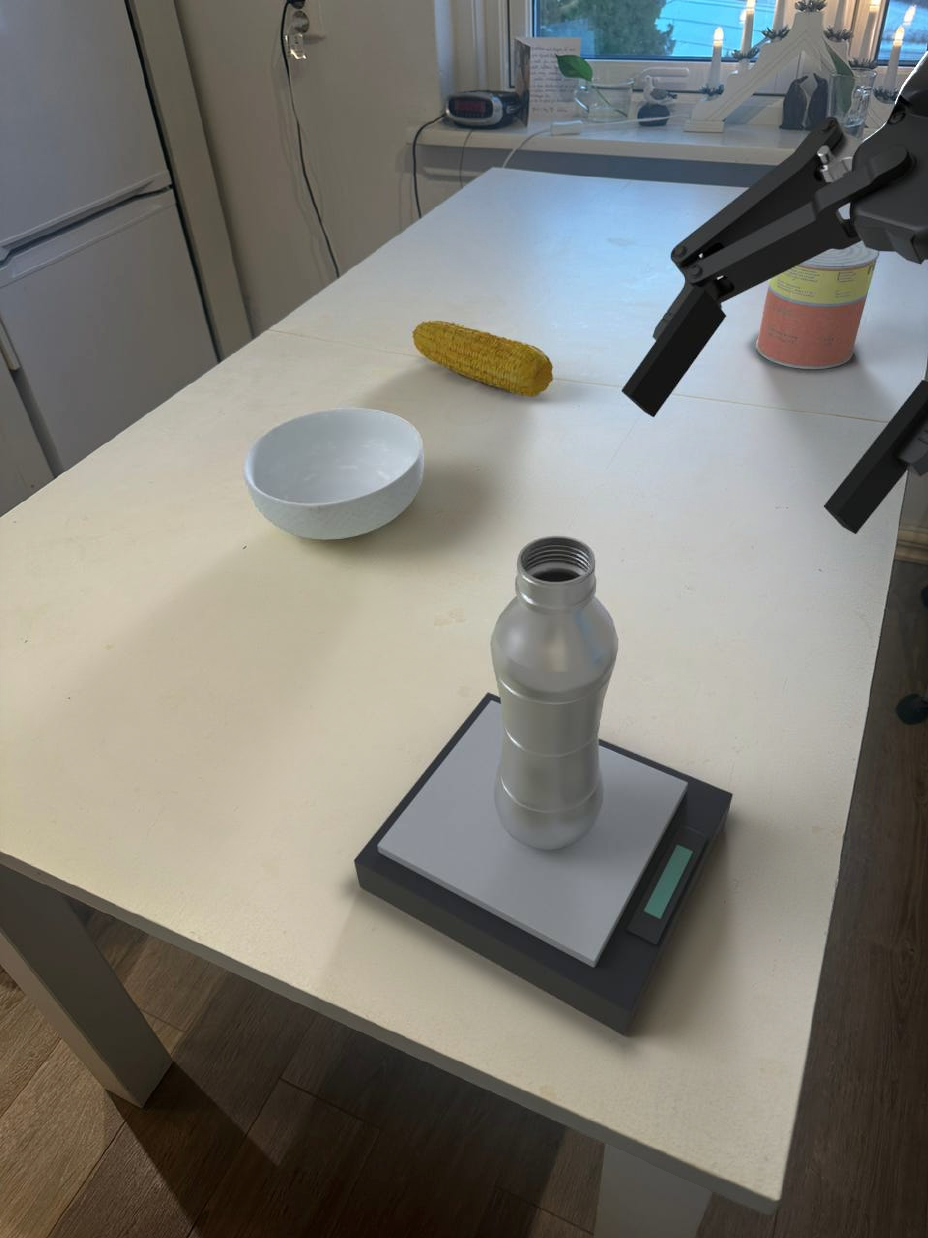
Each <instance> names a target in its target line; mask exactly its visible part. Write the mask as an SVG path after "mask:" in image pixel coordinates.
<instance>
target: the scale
mask: <svg viewBox="0 0 928 1238" xmlns="http://www.w3.org/2000/svg"><path fill="white" fill-rule="evenodd" d="M502 740H503V722H502V710H501V699H500V695H496V694H493V693H492V692H489V691H488V692H487V693H485V695H484V697H483V698H482V699H481V700H480V701H479V702H478V704H477V705H476V706H475V708H474V709H473V710H472V711H471V712H470V714H469V715H468V716H467V718H466V719H465V720H464V722H463V723H462V724H461V725H460V726H459V728H458V729H457V730H456V731H455V732H454V734H453V735H452V736H451V737H450V739H449V740H448V741H447V742H446V744H445V745H444V746H443V748H442V749H441V750H440V751H439V752H438V754H437V755H436V757H434V759H432V760H433V761H432V762H431V763H430V764H429V765H428V766H427V768H426V769H425V770H424V771H423V773H422V774H421V775H420V777H419V778H418V779H417V781H416V782H415V783H414V784H413V785H412V787H411V788H410V789H409V790H408V792H407V793H406V794H405V795H404V797H403V798H402V799H401V800H400V802H398V804H397V806H395V807H394V809H393V811H392V812H391V813H390V814H389V816H388V817H387V818H386V819H385V821H384V822H383V823H382V824H381V826H380V827H379V828H378V829H377V830H376V832H375V833H374V834H373V836H372V837H371V838H370V839H369V840H368V842H367V843H366V845H365V846H363V848H362V849H361V851H360V852H358V854H357V855H356V857H355V858H354V859H353V863H354V868H355V872H356V876H357V880H358V885H359V887H360V888H361V889H363V890H365V891H366V892H368V893H370V894H371V895H374V896H376V898H379V899H380V900H382V901H384V902H386V903H388V904H389V905H392V906H393V907H395V908H396V909H398V910H400V911H402V912H404V913H405V914H407V915H409V916H411V917H412V918H414V919H416V920H417V921H419V922H422V923H423V924H425V925H427V926H429V927H430V928H432V929H434V930H436V931H437V932H439V933H441V934H443V935H444V936H446V937H448V938H450V939H451V940H453V941H455V942H457V943H459V944H461V946H464V947H466V948H467V949H469V950H471V951H473V952H475V953H476V954H478V955H480V956H482V957H484V958H485V959H487V960H489V961H491V962H492V963H494V964H496V965H498V966H500V967H501V968H503V969H505V970H506V971H508V972H510V973H512V974H514V975H515V976H518V977H519V978H521V979H523V980H524V981H526V982H527V983H530V984H531V985H533V986H535V987H536V988H538V989H540V990H541V991H544V992H546V993H547V994H549V995H551V996H552V997H555V998H556V999H558V1000H559V1001H561V1002H564V1003H565V1004H567V1005H568V1006H570V1007H572V1008H574V1009H576V1010H578V1011H579V1012H581V1013H582V1014H584V1015H586V1016H588V1017H590V1018H591V1019H594V1020H595V1021H597V1022H599V1023H600V1024H602V1025H604V1026H606V1027H608V1028H610V1029H611V1030H612V1031H615V1032H617V1033H619V1034H620V1035H622V1036H624V1037H626V1036H627V1034H628V1032H629V1030H630V1027H631V1025H632V1024H633V1021H634V1020H635V1017H636V1015H637V1013H638V1010H639V1009H640V1006H641V1004H642V1002H643V1000H644V998H645V995H646V994H647V991H648V989H649V988H650V985H651V983H652V981H653V978H654V976H655V974H656V972H657V970H658V968H659V965H660V964H661V961H662V959H663V957H664V955H665V953H666V951H667V949H668V946H669V944H670V942H671V940H672V938H673V935H674V933H675V931H676V928H677V927H678V925H679V923H680V920H681V918H682V916H683V914H684V912H685V910H686V908H687V905H688V903H689V901H690V899H691V897H692V895H693V893H694V890H695V888H696V887H697V884H698V882H699V880H700V878H701V875H702V873H703V871H704V869H705V867H706V865H707V862H708V861H709V858H710V856H711V854H712V852H713V850H714V848H715V846H716V844H717V842H718V839H719V837H720V835H721V833H722V831H723V828H724V827H725V824H726V822H727V818H728V815H729V811H730V807H731V803H732V799H733V795H734V794H733V793H732V792H729V791H727V790H725V789H723V788H720V787H718V786H716V785H712V784H710V783H708V782H706V781H704V780H701V779H699V778H696V777H693V776H691V775H689V774H686V773H684V772H681V771H679V770H676V769H674V768H672V767H670V766H667V765H664V764H663V763H660V762H658V761H655V760H653V759H650V758H648V757H646V756H643V755H641V754H639V753H636V752H633V751H632V750H629V749H626V748H624V747H621V746H619V745H617V744H614V743H612V742H609V741H607V740H605V739H602V738H600V737H598V740H599V763H600V768H601V772H602V778H603V788H604V797H603V803H602V806H601V809H600V812H599V814H598V817H597V820H596V822H595V824H594V825H593V827H592V829H591V830H590V831H589V832H588V833H587V835H586V836H584V837H583V838H582V839H580V840H579V841H577V842H575V843H573V844H572V845H569V846H566V847H563V848H559V849H553V850H542V849H537V848H532V847H529V846H527V845H525V844H522V843H520V842H519V841H517V840H516V839H514V838H513V837H512V836H511V835H510V834H509V833H508V832H507V831H506V830H505V829H504V827H503V825H502V824H501V822H500V819H499V816H498V813H497V810H496V807H495V803H494V796H493V791H494V783H495V777H496V771H497V768H498V765H499V762H500V759H501V749H502Z"/></svg>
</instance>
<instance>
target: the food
mask: <svg viewBox="0 0 928 1238" xmlns="http://www.w3.org/2000/svg"><path fill="white" fill-rule="evenodd" d="M411 333H412V336H411V337H412V339H413V345H414V346H415V348H416V349H417V351H418V352H419V353H420V354H421V355H423V356H424V357H425V358H427V359H429V360H430V361H431V362H434V363H436V364H438V365H439V366H442V367H445V368H446V369H449V370H451V371H453V372H455V373H456V374H460V375H463V376H464V377H467V378H469V379H472V380H474V381H477V382H481V383H483V384H485V385H486V384H487V386H491V387H494V388H498V389H503V390H504V391H507V392H509V393H512V394H516V395H519V396H525V397H536V396H539V395H540V394H541V393H543V392H544V391H546V390H547V389H548V388H549V386H550V383H551V382H553V380H554V378H553V377H554V375H553V368H554V366H553V362H552V361H551V360H550V357H549V356H548V355H546V353H545V352H544V351H543V350H541V349H540V348H538V347H536V346H534V345H531V344H528V343H526V342H522V341H518V340H515V339H514V340H513V339H510V338H506V337H504V336H499V335H496V334H491V333H490V332H488V331H483V330H480V329H477V328H470V327H467V326H464V325H460V323H455V322H449V321H443V320H428V321H422V322H421V323H417V326H415V328H414V330H413V331H412V332H411Z"/></svg>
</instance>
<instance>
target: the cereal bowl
mask: <svg viewBox="0 0 928 1238" xmlns="http://www.w3.org/2000/svg"><path fill="white" fill-rule="evenodd" d="M424 470H425V452H424V445H423V439H422V437H421V434H420V433H419V431H418V430H417V429H416V427H415V426H414V425H413V424H412V423H411V422H409V421H408V420H406V419H405V418H403V417H401V416H399V415H396V414H394V413H390V412H387V411H383V410H378V409H372V408H364V407H363V408H362V407H338V408H329V409H324V410H323V409H322V410H317V411H313V412H308V413H305V414H302V415H299V416H296V417H292V418H290V419H287V420H285V421H283V422H281V423H279V424H277V425H275V426H273V427H272V428H270V429H268V430H267V431H266V432H264V433H263V434H262V435H261V436H259V437H258V438H257V439H256V440H255V441H254V442H253V443H252V444H251V446H250V447H249V448H248V450H247V451H246V454H245V457H244V459H243V464H242V472H243V473H242V474H243V478H244V482H245V485H246V487H247V491H248V493H249V496H250V498H251V501H253V503H254V506H255V507H256V508H257V510H258V512H259V513H260V514H261V515H262V516H263V517H264V518H265V519H266V520H267V521H268V522H269V523H271V524H272V525H274V526H275V527H277V528H278V529H280V530H282V531H283V532H285V533H289V534H291V535H294V536H297V537H300V538H305V539H312V540H323V541H326V540H340V539H342V540H343V539H347V538H353V537H358V536H361V535H365V534H367V533H371V532H373V531H375V530H377V529H379V528H382V527H383V526H386V525H387V524H388V523H390V522H392V521H393V520H394V519H396V518H397V517H398V516H399V515H401V514H402V513H403V512H404V511H406V509H408V507H409V505H411V503H412V502H413V500H414V499H415V498H416V495H417V494H418V492H419V490H420V488H421V486H422V485H421V484H422V482H423V476H424Z"/></svg>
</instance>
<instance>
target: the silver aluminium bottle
mask: <svg viewBox="0 0 928 1238" xmlns="http://www.w3.org/2000/svg"><path fill="white" fill-rule="evenodd" d="M514 590H515V596H514V597H513V598H512V599H511V601H510V602H509V603H508V604H507V605H506V607H504V609H503V610H502V612H501V613H500V614H499V616H498V617H497V620H496V622H495V625H494V628H493V631H492V633H491V636H490V643H489V644H490V653H491V662H492V668H493V672H494V676H495V681H496V685H497V686H496V687H497V690H498V694H499V695H498V696H499V697H500V699H501V710H502V722H503V740H502V749H501V759H500V762H499V765H498V768H497V771H496V777H495V783H494V791H493V796H494V803H495V807H496V810H497V813H498V816H499V819H500V822H501V824H502V825H503V827H504V829H505V830H506V831H507V832H508V833H509V834H510V835H511V836H512V837H513V838H514V839H516V840H517V841H519V842H520V843H522V844H525V845H527V846H529V847H532V848H537V849H542V850H553V849H559V848H563V847H566V846H569V845H572V844H573V843H575V842H577V841H579V840H580V839H582V838H583V837H584V836H586V835H587V833H588V832H589V831H590V830H591V829H592V827H593V825H594V824H595V822H596V820H597V817H598V814H599V812H600V809H601V806H602V803H603V797H604V788H603V778H602V772H601V768H600V763H599V740H598V738H599V732H600V728H601V727H600V726H601V719H602V715H603V708H604V703H605V698H606V694H607V691H608V688H609V685H610V681H611V678H612V675H613V671H614V668H615V665H616V662H617V658H618V652H619V638H618V637H619V636H618V634H617V630H616V626H615V623H614V619H613V617H612V615H611V614H610V613H609V611H608V609H607V608H606V607H605V606H604V605H603V603H602V602H601V601H600V599H599V598H597V596H596V592H597V577H596V557H595V553H594V551H593V550H592V548H590V546H589V545H588V544H587V543H585V542H583V540H580V539H577V538H575V537H571V536H565V535H549V536H547V535H546V536H543V537H539V538H537V539H534V540H532V541H530V542H528V543H527V544H526V545H524V546H523V547H522V549H520V551H519V553H518V555H517V560H516V576H515V581H514Z"/></svg>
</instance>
